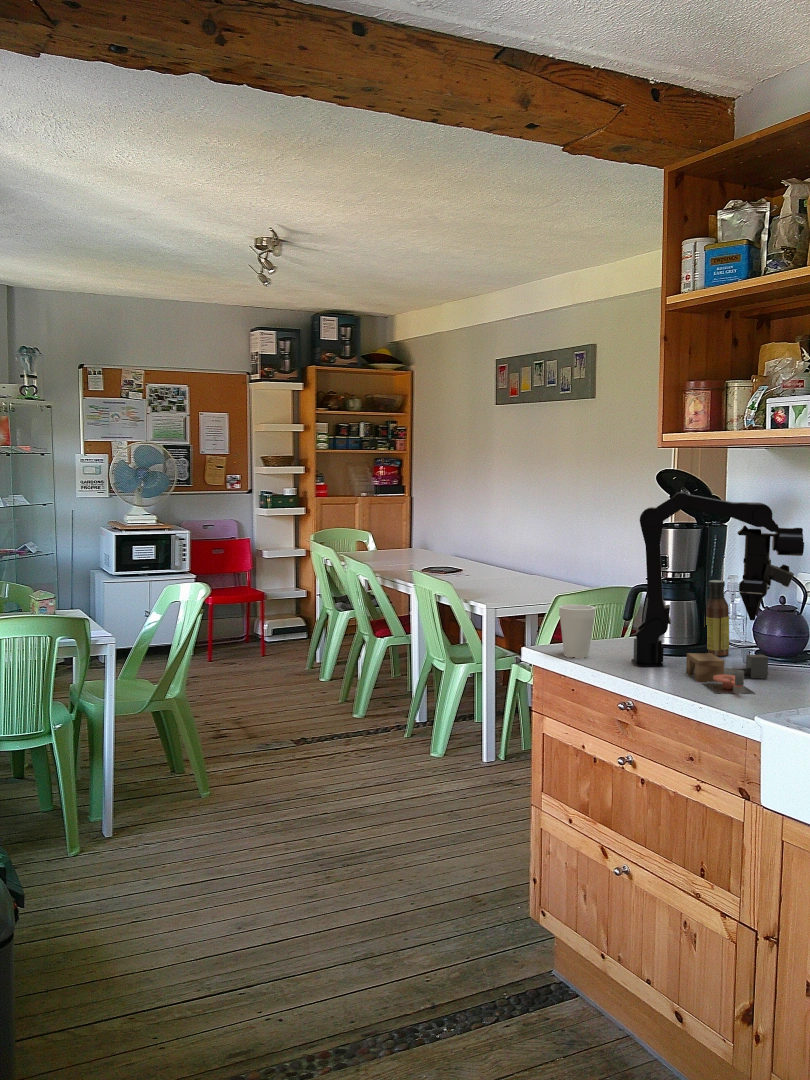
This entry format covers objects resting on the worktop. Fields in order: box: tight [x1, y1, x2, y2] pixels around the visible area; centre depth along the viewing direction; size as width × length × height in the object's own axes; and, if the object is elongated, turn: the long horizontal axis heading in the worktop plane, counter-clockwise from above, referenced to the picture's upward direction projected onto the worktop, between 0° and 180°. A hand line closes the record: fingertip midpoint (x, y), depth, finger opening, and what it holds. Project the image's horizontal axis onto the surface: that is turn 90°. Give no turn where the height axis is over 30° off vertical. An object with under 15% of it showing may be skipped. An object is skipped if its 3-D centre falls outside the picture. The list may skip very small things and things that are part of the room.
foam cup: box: [558, 604, 596, 659], centre depth 246 cm, size 10×9×13 cm
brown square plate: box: [700, 682, 756, 695], centre depth 211 cm, size 9×9×1 cm
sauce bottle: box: [706, 579, 730, 657], centre depth 248 cm, size 7×6×20 cm
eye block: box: [685, 652, 725, 683], centre depth 222 cm, size 6×9×5 cm
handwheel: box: [713, 670, 745, 689], centre depth 209 cm, size 11×6×5 cm, turn 1°
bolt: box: [692, 654, 769, 679], centre depth 222 cm, size 17×3×5 cm, turn 91°
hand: (753, 617), depth 229 cm, fingers open, 9 cm apart
